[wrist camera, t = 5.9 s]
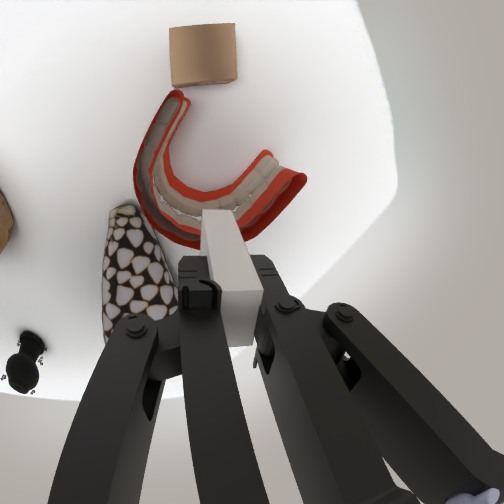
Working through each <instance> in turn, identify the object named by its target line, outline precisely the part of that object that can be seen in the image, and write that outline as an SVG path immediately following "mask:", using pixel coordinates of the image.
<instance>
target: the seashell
mask: <svg viewBox="0 0 504 504" xmlns="http://www.w3.org/2000/svg"><path fill="white" fill-rule="evenodd" d="M177 307H178V290H177V288H176V286H175V283H174V281H173V278H172V276H171V274H170V271H169V269H168V267H167V264H166V261H165V259H164V256H163V253H162V251H161V248H160V245H159V243H158V241H157V238H156V236H155V233H154V231H153V229H152V227H151V225H150V223H149V222H148V220H147V218H146V217H145V216H144V215H143V213H142V212H141V211H140V210H139V209H138V208H137V207H135V206H130V205H125V206H120V207H117V208H115V209H114V210H112V211H110V213H109V226H108V234H107V239H106V245H105V251H104V259H103V273H102V323H103V336H104V342H105V345H106V343H107V341H108V339H109V337H110V335H111V333H112V331H113V329H114V327H115V325H116V324H117V322H118V321H119V320H120V319H121V318H123V317H124V316H126V315H129V314H133V313H142V314H145V315H148V316H150V317H151V318H153V319H154V320H159V319H163V318H165V317H168V316H170V315H171V314H173V313H174V312H175V311H176V309H177Z"/></svg>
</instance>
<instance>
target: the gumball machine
mask: <svg viewBox="0 0 504 504" xmlns="http://www.w3.org/2000/svg"><path fill="white" fill-rule="evenodd" d="M18 342H19V343H21V344H19V343H18V344H17V345H18V346H19V345H20V349H19V353H17V354H14V355H12V356H11V357H10V358H9V359H8V361H7V364H6V372H7V376H8V380H9V385H10V386H11V387H12V388H13V389H14V390H16V391H17V392H19V393H22V394H26V393H28V391H29V390H31V389H33V388H35V386H36V385H37V383H38V380H39V372H38V368H37V366H36V364H35V362H36V360H37V358H38V357H39V355H41V354H42V353H43V352H44V350H45V351H47V348H45V346H44V344H43V342H42V341H41V340H40V339H39V338H38V337H37V336H35V335H34V334H31V333H28V332H23V333H22V334H21V335H20V341H18ZM40 359H43V357H41V358H40ZM40 359H39V361H38V362H40V365H43V363H41V361H42V360H40ZM3 379H6V375H3V376H2V378H1V380H3ZM32 392H33V393H35V390H32ZM32 392H31V394H33V393H32Z"/></svg>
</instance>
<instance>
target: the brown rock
mask: <svg viewBox="0 0 504 504" xmlns="http://www.w3.org/2000/svg"><path fill="white" fill-rule="evenodd" d="M12 226H13V219H12V216H11V212H10V210H9V207H8V205H7V203H6V200H5V199H4V197H3V195H2V194H1V193H0V254H1V252H2V251H3V249H4V248H5V246H6V244H7V242H8V241H9V239H10V232H11V229H12Z"/></svg>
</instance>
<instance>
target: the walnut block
mask: <svg viewBox="0 0 504 504" xmlns="http://www.w3.org/2000/svg"><path fill="white" fill-rule="evenodd" d="M169 38H170V62H171V79H172V86H173V87H174V88H181V87H189V86H198V85H208V84H221V83H229V82H231V81H234V80H236V79H237V62H236V40H235V23H223V24H204V25H192V26H182V27H174V28H169Z"/></svg>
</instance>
